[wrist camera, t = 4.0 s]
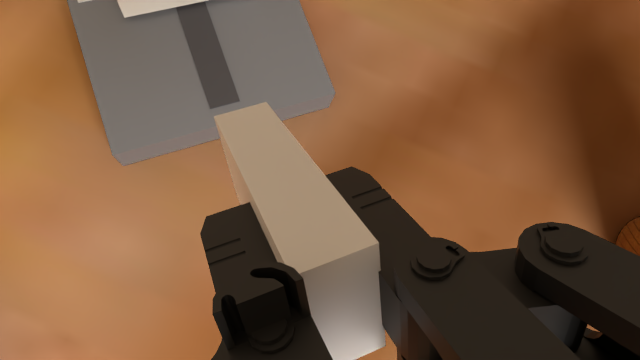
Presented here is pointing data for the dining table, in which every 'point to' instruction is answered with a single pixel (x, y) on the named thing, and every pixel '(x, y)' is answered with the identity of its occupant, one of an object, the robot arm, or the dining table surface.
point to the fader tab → (150, 5)
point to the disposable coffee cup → (630, 237)
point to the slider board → (195, 69)
